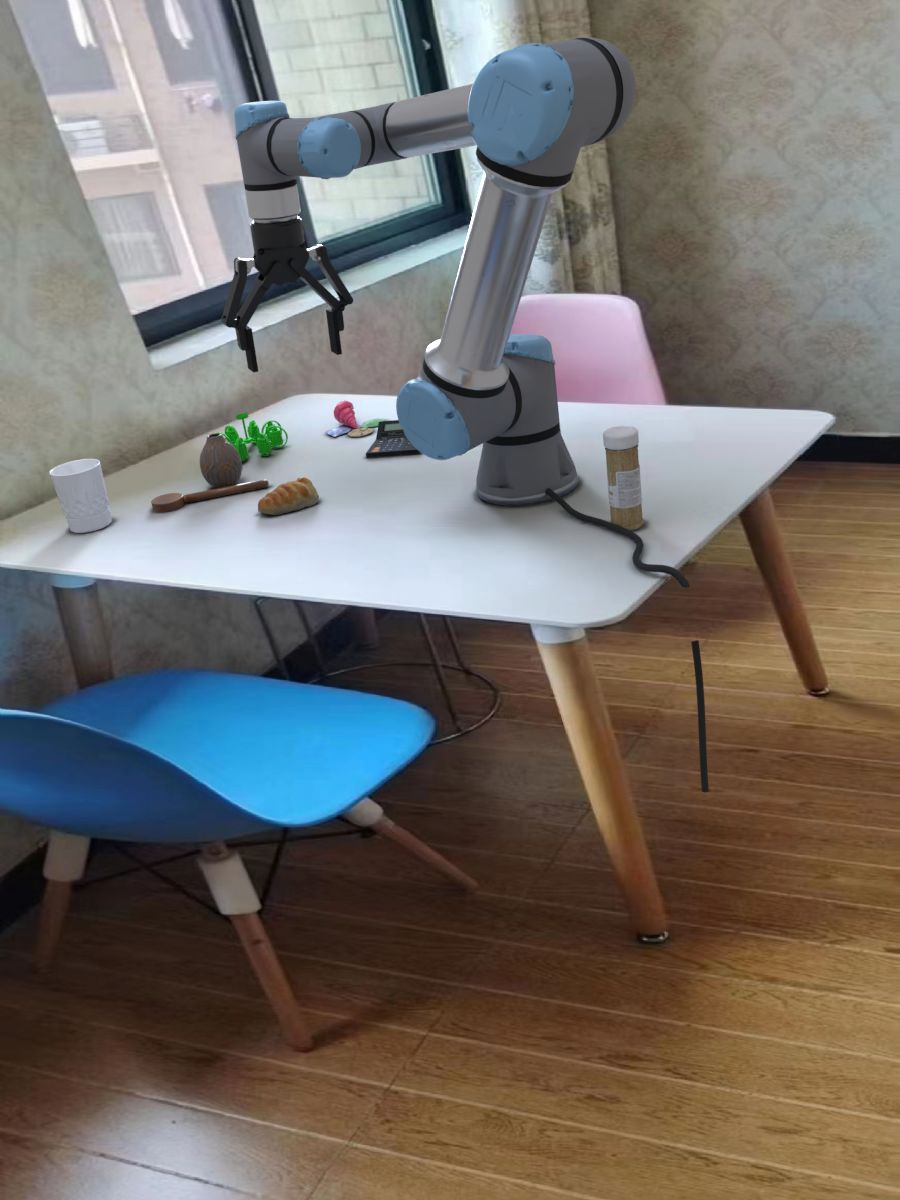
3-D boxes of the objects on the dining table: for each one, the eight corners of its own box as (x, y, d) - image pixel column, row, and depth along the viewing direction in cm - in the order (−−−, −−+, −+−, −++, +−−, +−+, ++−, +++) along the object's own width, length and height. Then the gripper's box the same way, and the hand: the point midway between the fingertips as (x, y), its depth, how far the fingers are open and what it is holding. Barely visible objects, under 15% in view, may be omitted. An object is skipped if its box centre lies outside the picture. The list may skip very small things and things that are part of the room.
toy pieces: (312, 433, 217) (307, 411, 215) (355, 416, 224) (352, 394, 222) (353, 441, 209) (349, 417, 207) (398, 422, 216) (394, 400, 214)
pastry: (271, 521, 176) (266, 497, 174) (251, 512, 181) (246, 489, 179) (323, 502, 181) (319, 479, 179) (302, 494, 186) (297, 471, 184)
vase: (226, 493, 192) (214, 442, 188) (196, 489, 195) (184, 440, 192) (253, 478, 197) (243, 429, 193) (224, 475, 200) (213, 427, 197)
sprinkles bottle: (608, 521, 157) (600, 427, 152) (642, 517, 157) (635, 422, 151) (612, 534, 153) (604, 437, 148) (646, 530, 153) (639, 433, 147)
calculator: (366, 458, 199) (363, 441, 197) (382, 436, 209) (379, 420, 208) (419, 454, 196) (416, 437, 195) (432, 432, 207) (429, 416, 205)
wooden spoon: (268, 482, 194) (266, 474, 193) (270, 491, 189) (268, 483, 189) (153, 504, 191) (151, 496, 191) (152, 514, 187) (150, 506, 186)
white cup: (125, 516, 188) (109, 458, 184) (96, 535, 181) (79, 475, 177) (86, 516, 191) (69, 458, 186) (56, 534, 184) (38, 475, 180)
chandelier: (194, 457, 213) (185, 421, 210) (261, 434, 221) (254, 399, 218) (236, 470, 202) (228, 432, 199) (306, 445, 211) (298, 408, 208)
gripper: (344, 202, 174) (360, 340, 184) (184, 227, 165) (209, 371, 175) (364, 208, 168) (379, 350, 178) (199, 234, 159) (224, 383, 169)
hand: (295, 361), depth 176 cm, fingers open, 13 cm apart
